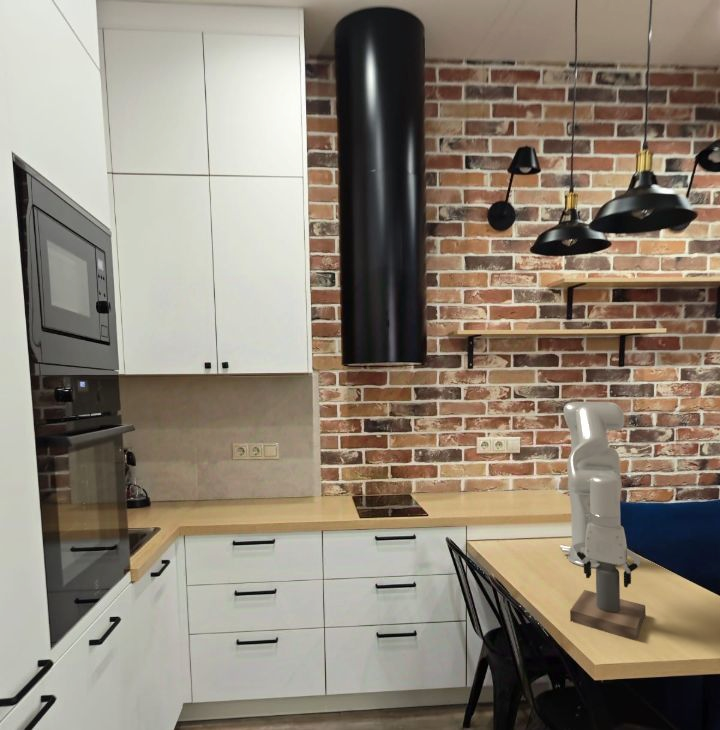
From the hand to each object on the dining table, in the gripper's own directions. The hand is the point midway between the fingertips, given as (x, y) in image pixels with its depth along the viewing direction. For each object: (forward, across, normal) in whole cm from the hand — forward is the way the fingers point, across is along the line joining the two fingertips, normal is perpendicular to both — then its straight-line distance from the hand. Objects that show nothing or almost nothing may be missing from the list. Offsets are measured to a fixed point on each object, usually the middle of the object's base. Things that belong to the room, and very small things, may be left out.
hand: (607, 581), depth 131 cm
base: (+10, 0, 0) cm, 10 cm away
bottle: (+7, 0, 0) cm, 8 cm away
